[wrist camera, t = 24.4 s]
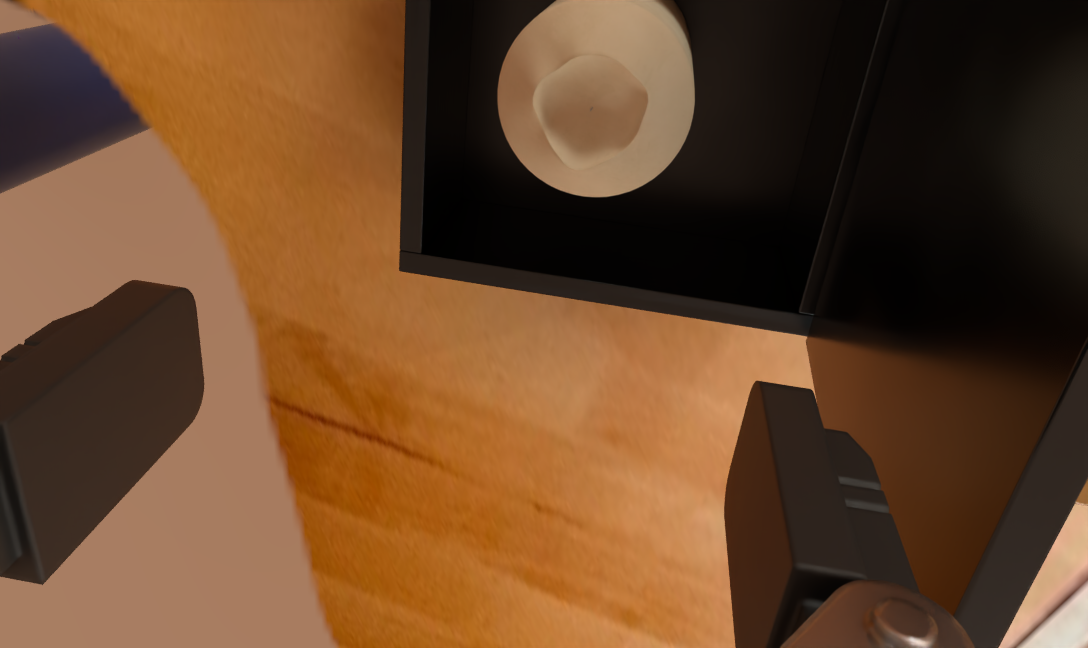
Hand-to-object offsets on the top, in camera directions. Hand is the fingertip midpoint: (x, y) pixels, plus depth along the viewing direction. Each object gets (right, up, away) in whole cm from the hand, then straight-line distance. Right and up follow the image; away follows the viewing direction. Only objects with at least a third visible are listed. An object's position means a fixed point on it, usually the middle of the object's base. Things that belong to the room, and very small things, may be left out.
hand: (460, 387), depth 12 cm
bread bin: (+5, +11, +19) cm, 23 cm away
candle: (+4, +11, +19) cm, 22 cm away
